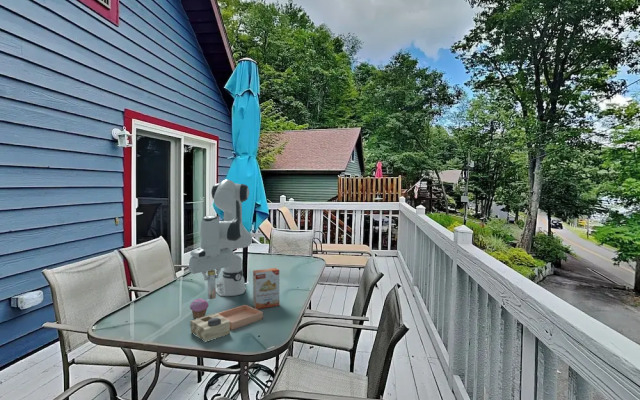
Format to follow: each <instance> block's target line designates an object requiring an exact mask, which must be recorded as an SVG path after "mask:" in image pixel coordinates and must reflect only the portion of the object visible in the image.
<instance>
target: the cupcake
mask: <svg viewBox="0 0 640 400" xmlns="http://www.w3.org/2000/svg"><path fill="white" fill-rule="evenodd" d="M208 307H209V302H208V301H207V300H206V299H204V298H201V297H200V298H199V297H198V298H196V299H194V300H193V301H192V302H191V303H190V305H189V309H190V310H191V313H192V318H193V319H194V318H197V319H198V318H201V317H204V316H206V314H207V310H208Z"/></svg>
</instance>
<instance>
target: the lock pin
mask: <svg viewBox="0 0 640 400" xmlns="http://www.w3.org/2000/svg"><path fill="white" fill-rule="evenodd" d="M215 274H216V269H215V270H210V271H207V273H206V275H207V276H209V280H207V299H208V300H213V299H216V297H217V295H216V294H217V293H216V278H215Z"/></svg>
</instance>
